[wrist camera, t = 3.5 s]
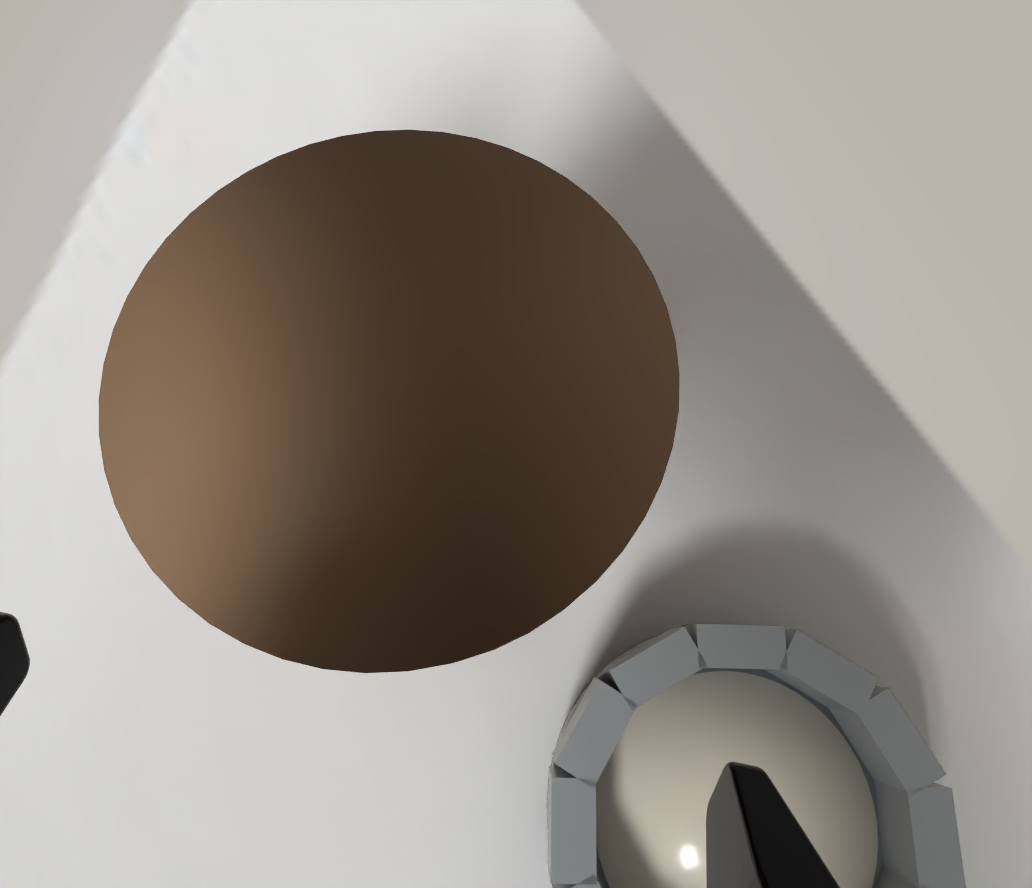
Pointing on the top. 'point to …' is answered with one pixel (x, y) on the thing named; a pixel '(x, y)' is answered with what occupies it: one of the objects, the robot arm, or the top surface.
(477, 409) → the brown cylinder
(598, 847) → the ring
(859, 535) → the top surface
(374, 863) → the top surface
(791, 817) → the robot arm
